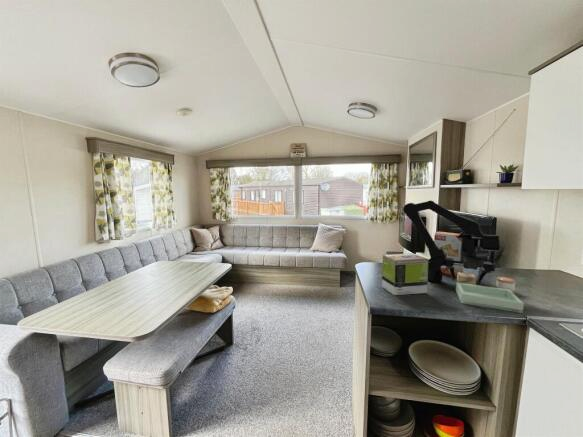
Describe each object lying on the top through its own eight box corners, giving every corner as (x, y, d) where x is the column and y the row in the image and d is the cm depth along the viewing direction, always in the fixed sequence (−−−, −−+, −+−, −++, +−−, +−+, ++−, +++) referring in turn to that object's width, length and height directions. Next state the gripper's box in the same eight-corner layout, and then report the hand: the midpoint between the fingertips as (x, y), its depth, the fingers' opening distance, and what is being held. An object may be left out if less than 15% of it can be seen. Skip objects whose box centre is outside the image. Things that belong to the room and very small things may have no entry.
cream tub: (498, 292, 107) (499, 280, 106) (494, 287, 112) (495, 276, 112) (516, 294, 104) (517, 282, 104) (511, 290, 110) (512, 278, 109)
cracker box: (431, 271, 135) (434, 232, 133) (435, 269, 139) (438, 231, 137) (462, 278, 125) (465, 235, 122) (465, 275, 129) (469, 234, 126)
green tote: (461, 302, 96) (461, 294, 95) (455, 290, 108) (456, 282, 108) (522, 313, 88) (523, 303, 88) (509, 298, 101) (510, 289, 100)
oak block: (458, 286, 113) (459, 275, 112) (456, 282, 118) (457, 272, 118) (475, 289, 110) (476, 278, 110) (472, 284, 116) (473, 274, 115)
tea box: (411, 285, 114) (413, 252, 113) (427, 293, 104) (429, 258, 103) (380, 286, 112) (382, 253, 110) (393, 296, 102) (395, 259, 100)
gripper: (446, 249, 109) (443, 285, 111) (500, 254, 101) (497, 292, 103) (443, 245, 119) (441, 277, 121) (492, 249, 111) (489, 284, 113)
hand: (465, 282), depth 114 cm, fingers open, 9 cm apart
